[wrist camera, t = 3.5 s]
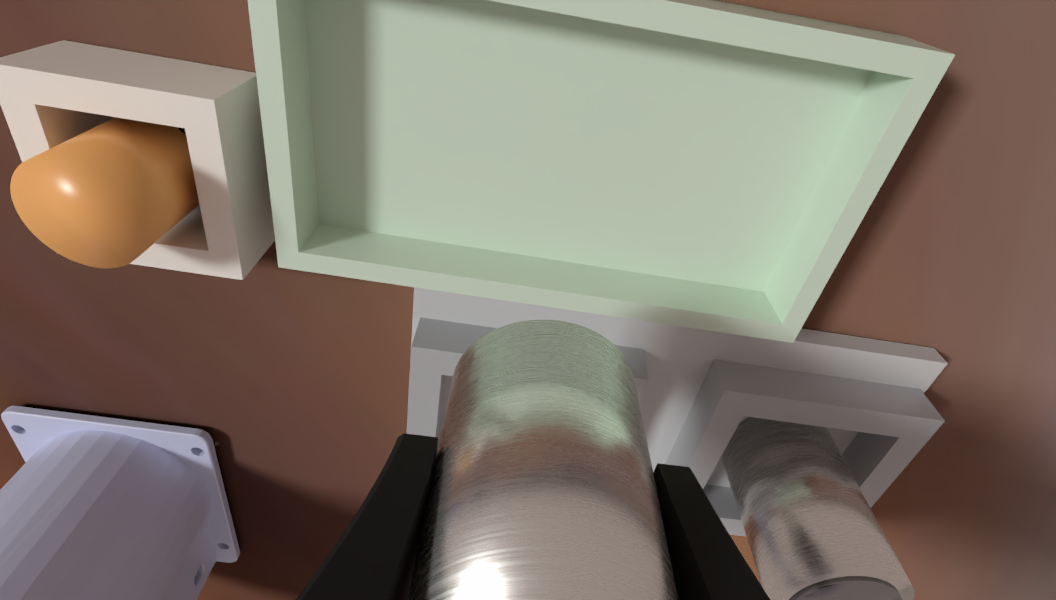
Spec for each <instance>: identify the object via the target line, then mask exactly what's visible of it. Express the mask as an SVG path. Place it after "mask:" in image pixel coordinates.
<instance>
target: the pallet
mask: <svg viewBox="0 0 1056 600" xmlns="http://www.w3.org/2000/svg"><path fill="white" fill-rule="evenodd" d="M528 320H559V321H564V322H570V323H574V324H577V325H580V326H584V327H586V328H588V329H591V330H593V331H595V332H597V333H599V334H600V335H602V336H604V337H605V338H607V339H608V340H609V341H611V342H612V343H613V344H614V345H615V346H616V347H617V348H618V349H619V350H620V351H621V352H622V353H623V355H624V356H625V357H626V359H627V360H628V362H629V364H630V366H631V368H632V371H633V375H634V378H635V383H636V388H637V393H638V398H639V403H640V408H641V413H642V418H643V423H644V428H645V433H646V438H647V443H648V448H649V454H650V459H651V464H652V469H653V472H654V470H655V468H656V465H657V463H659V464H668V465H676V466H685V467H690V469H691V470H692V472H693V473H694V475H695V477H696V478H697V480H698V482H699V484H700V485H701V487H702V489H703V491H704V492H705V494H706V496H707V497H708V499H709V501H710V503H711V504H712V506H713V508H714V510H715V511H716V513H717V515H718V516H719V518H720V520H721V521H722V523H723V525H724V526H725V528H726V530H727V531H728V533H729V534H730V535H738V536H746V534H745V531H744V527H743V524H742V521H741V518H740V515H739V512H738V508H737V505H736V502H735V499H734V496H733V493H732V489H731V486H730V483H729V480H728V477H727V474H726V470H725V467H724V464H723V461H722V458H721V456H722V454H723V452H724V450H725V448H726V447H727V445H728V443H729V441H730V439H731V437H732V436H733V434H734V432H735V430H736V428H737V427H738V425H739V423H740V422H741V421H743V420H744V419H746V418H748V417H754V418H762V419H769V420H776V421H784V422H791V423H798V424H806V425H813V426H820V427H827V428H828V430H829V432H830V434H831V436H832V438H833V440H834V441H835V443H836V445H837V447H838V449H839V451H840V453H841V454H842V456H843V458H844V460H845V462H846V464H847V466H848V467H849V469H850V471H851V473H852V475H853V477H854V479H855V480H856V482H857V484H858V486H859V488H860V490H861V492H862V493H863V495H864V497H865V499H866V501H867V503H868V505H869V507H870V508H871V507H872V506H873V505H874V504H875V502H876V501H877V500H878V499H879V498H880V497H881V495H882V494H883V493H884V492H885V491H886V490H887V488H888V487H889V486H890V485H891V484H892V483H893V481H894V480H895V479H896V478H897V477H898V476H899V474H900V473H901V472H902V471H903V470H904V469H905V467H906V466H907V465H908V464H909V463H910V461H911V460H912V459H913V458H914V457H915V456H916V454H917V453H918V452H919V451H920V450H921V449H922V447H923V446H924V445H925V444H926V443H927V442H928V440H929V439H930V438H931V437H932V436H933V435H934V433H935V432H936V431H937V430H938V429H939V428H940V426H941V425H942V424H943V423H944V422H945V420H944V419H943V418H942V416H941V415H940V414H939V413H938V411H937V410H936V409H935V407H934V406H933V405H932V404H931V402H930V401H929V400H928V398H927V397H926V396H925V395H924V393H925V392H926V390H927V389H928V388H929V387H930V385H931V384H932V383H933V381H934V380H935V379H936V378H937V376H938V375H939V374H940V373H941V371H942V370H943V369H944V368H945V366H946V365H947V364H948V363H947V362H946V361H945V360H944V359H943V357H942V356H941V355H940V354H939V353H938V352H937V351H936V349H935V348H930V347H923V346H916V345H910V344H903V343H896V342H890V341H883V340H876V339H869V338H863V337H856V336H849V335H843V334H836V333H829V332H822V331H816V330H809V329H802V328H801V330H800V332H799V333H798V335H797V337H796V339H795V341H794V342H793V343H790V342H783V341H777V340H770V339H763V338H756V337H749V336H743V335H736V334H729V333H722V332H715V331H709V330H702V329H695V328H688V327H681V326H675V325H668V324H661V323H654V322H647V321H641V320H634V319H627V318H620V317H613V316H607V315H600V314H593V313H586V312H579V311H573V310H566V309H559V308H552V307H545V306H539V305H532V304H525V303H518V302H511V301H505V300H498V299H491V298H484V297H477V296H471V295H464V294H457V293H450V292H443V291H436V290H430V289H423V288H416V287H414V302H413V321H412V341H411V360H410V379H409V398H408V418H407V434H414V435H422V436H431V437H438V445H437V452H438V447H439V442H440V437H441V433H442V428H443V423H444V418H445V413H446V408H447V403H448V398H449V393H450V388H451V383H452V378H453V373H454V371H455V368H456V365H457V363H458V362H459V360H460V358H461V356H462V355H463V354H464V353H465V351H466V350H467V349H468V348H469V347H470V346H471V345H472V344H473V343H474V342H475V341H477V340H478V339H480V338H481V337H482V336H484V335H485V334H487V333H489V332H491V331H493V330H495V329H497V328H500V327H503V326H505V325H508V324H512V323H516V322H521V321H528ZM436 457H437V456H436Z"/></svg>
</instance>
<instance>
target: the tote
mask: <svg viewBox="0 0 1056 600" xmlns="http://www.w3.org/2000/svg"><path fill="white" fill-rule="evenodd" d="M248 8H249V16H250V25H251V34H252V42H253V51H254V60H255V69H256V77H257V86H258V95H259V104H260V112H261V121H262V130H263V138H264V147H265V156H266V165H267V173H268V182H269V191H270V200H271V208H272V217H273V226H274V234H275V243H276V252H277V261H278V267H280V268H287V269H294V270H300V271H307V272H314V273H321V274H328V275H334V276H341V277H348V278H355V279H362V280H368V281H375V282H382V283H389V284H396V285H402V286H409V287H416V288H423V289H430V290H436V291H443V292H450V293H457V294H464V295H471V296H477V297H484V298H491V299H498V300H505V301H511V302H518V303H525V304H532V305H539V306H545V307H552V308H559V309H566V310H573V311H579V312H586V313H593V314H600V315H607V316H613V317H620V318H627V319H634V320H641V321H647V322H654V323H661V324H668V325H675V326H681V327H688V328H695V329H702V330H709V331H715V332H722V333H729V334H736V335H743V336H749V337H756V338H763V339H770V340H777V341H783V342H790V343H793V342H794V341H795V339H796V337H797V335H798V333H799V332H800V330H801V328H802V326H803V325H804V323H805V321H806V319H807V317H808V316H809V314H810V312H811V310H812V309H813V307H814V305H815V303H816V301H817V300H818V298H819V296H820V294H821V293H822V291H823V289H824V287H825V285H826V284H827V282H828V280H829V278H830V277H831V275H832V273H833V271H834V269H835V268H836V266H837V264H838V262H839V261H840V259H841V257H842V255H843V253H844V252H845V250H846V248H847V246H848V245H849V243H850V241H851V239H852V237H853V236H854V234H855V232H856V230H857V229H858V227H859V225H860V223H861V221H862V220H863V218H864V216H865V214H866V213H867V211H868V209H869V207H870V205H871V204H872V202H873V200H874V198H875V197H876V195H877V193H878V191H879V189H880V188H881V186H882V184H883V182H884V181H885V179H886V177H887V175H888V173H889V172H890V170H891V168H892V166H893V164H894V163H895V161H896V159H897V157H898V156H899V154H900V152H901V150H902V148H903V147H904V145H905V143H906V141H907V140H908V138H909V136H910V134H911V132H912V131H913V129H914V127H915V125H916V124H917V122H918V120H919V118H920V116H921V115H922V113H923V111H924V109H925V108H926V106H927V104H928V102H929V100H930V99H931V97H932V95H933V93H934V92H935V90H936V88H937V86H938V84H939V83H940V81H941V79H942V77H943V76H944V74H945V72H946V70H947V68H948V67H949V65H950V63H951V61H952V60H953V58H954V56H955V54H952V53H949V52H946V51H944V50H941V49H938V48H935V47H933V46H930V45H927V44H924V43H921V42H919V41H916V40H913V39H910V38H908V37H905V36H902V35H896V34H891V33H886V32H881V31H875V30H870V29H865V28H859V27H854V26H849V25H844V24H838V23H833V22H828V21H822V20H817V19H812V18H806V17H801V16H796V15H791V14H785V13H780V12H775V11H769V10H764V9H759V8H754V7H748V6H743V5H738V4H732V3H727V2H722V1H716V0H248Z"/></svg>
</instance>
